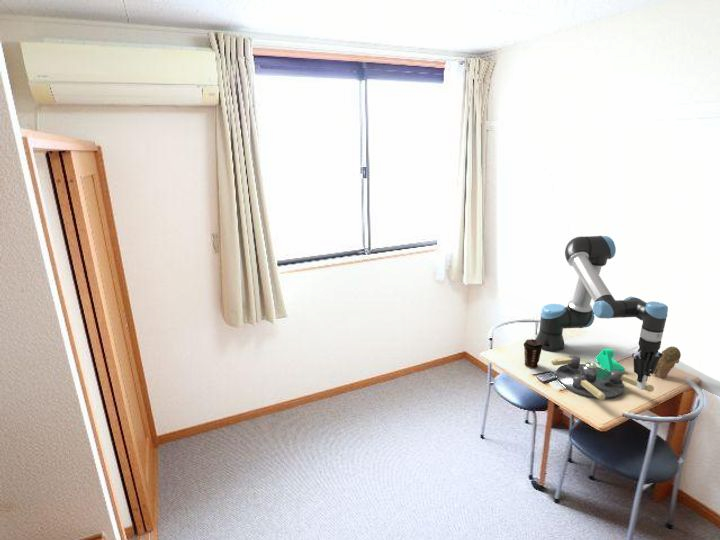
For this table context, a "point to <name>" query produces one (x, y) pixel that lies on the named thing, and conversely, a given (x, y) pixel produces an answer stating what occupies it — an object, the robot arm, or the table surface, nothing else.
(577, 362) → the maraca
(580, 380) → the knob
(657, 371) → the figurine
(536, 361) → the coffee cup
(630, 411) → the table surface
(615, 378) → the knob
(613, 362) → the camera mount
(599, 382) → the level base
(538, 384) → the table surface
